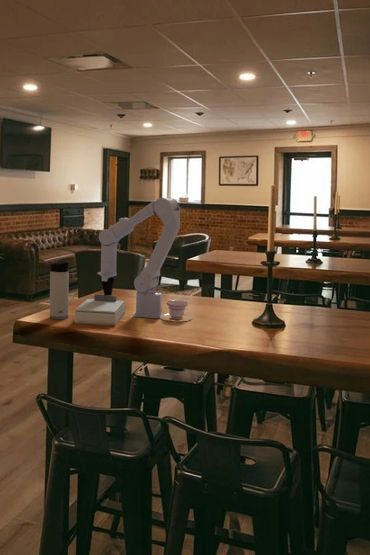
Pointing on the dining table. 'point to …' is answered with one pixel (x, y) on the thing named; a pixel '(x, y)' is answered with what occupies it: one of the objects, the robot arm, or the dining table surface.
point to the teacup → (176, 310)
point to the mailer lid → (101, 304)
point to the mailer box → (99, 317)
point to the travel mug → (59, 290)
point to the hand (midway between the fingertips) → (107, 297)
